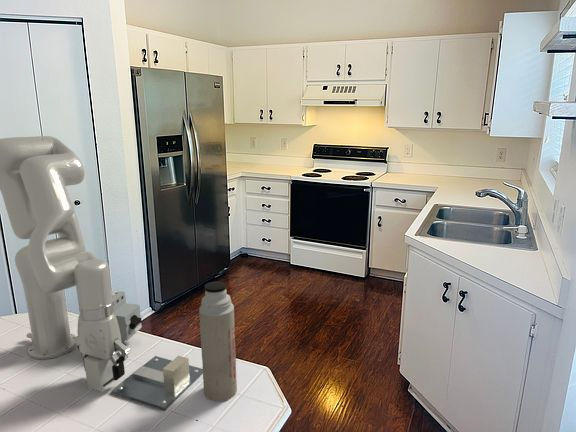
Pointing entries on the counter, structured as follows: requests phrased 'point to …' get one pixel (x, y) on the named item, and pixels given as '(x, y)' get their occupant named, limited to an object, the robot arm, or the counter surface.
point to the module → (98, 371)
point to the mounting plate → (159, 382)
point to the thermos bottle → (218, 343)
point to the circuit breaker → (126, 316)
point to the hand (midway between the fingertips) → (104, 372)
